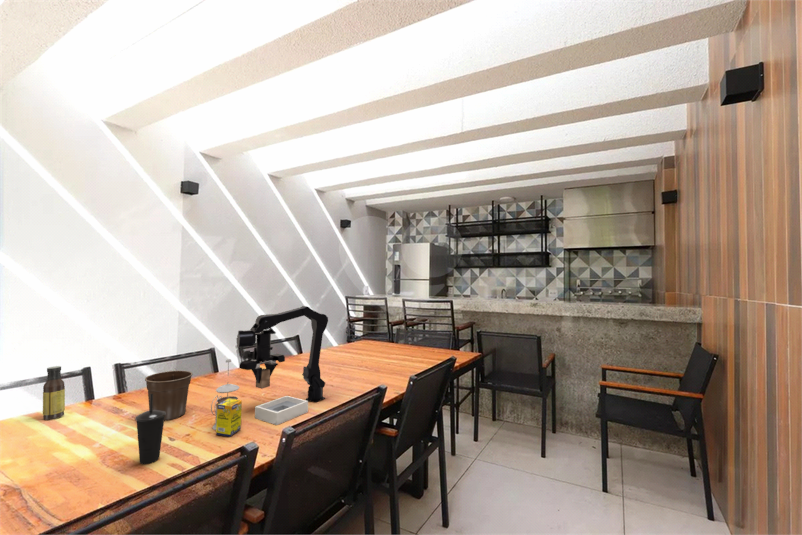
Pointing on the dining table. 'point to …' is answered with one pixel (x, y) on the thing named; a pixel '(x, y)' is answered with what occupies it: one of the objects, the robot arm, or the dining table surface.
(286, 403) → the socket plate
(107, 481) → the dining table surface
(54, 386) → the sauce bottle
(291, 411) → the tray
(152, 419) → the drinking cup
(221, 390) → the french press
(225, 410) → the supplement box
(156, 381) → the plant pot
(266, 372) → the peg
